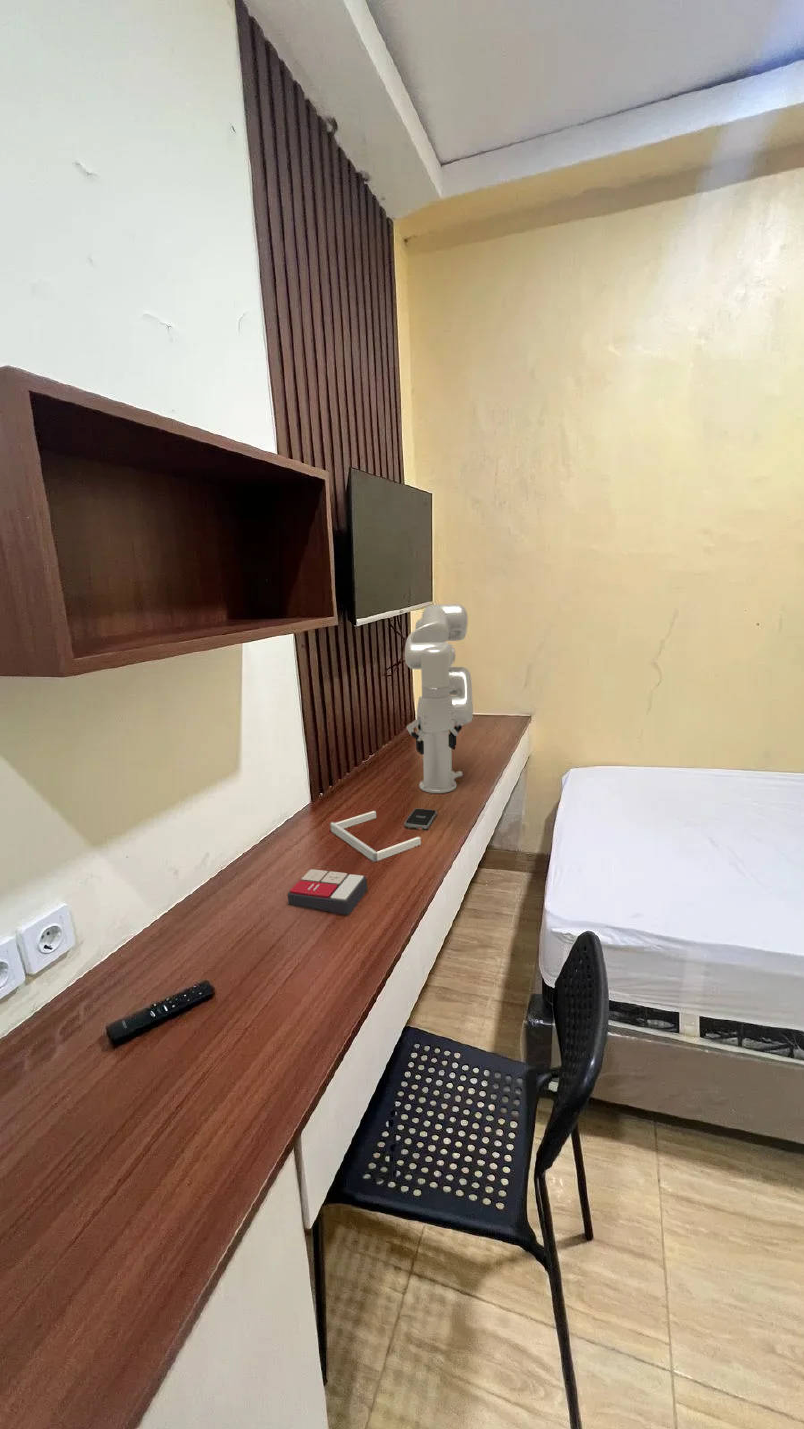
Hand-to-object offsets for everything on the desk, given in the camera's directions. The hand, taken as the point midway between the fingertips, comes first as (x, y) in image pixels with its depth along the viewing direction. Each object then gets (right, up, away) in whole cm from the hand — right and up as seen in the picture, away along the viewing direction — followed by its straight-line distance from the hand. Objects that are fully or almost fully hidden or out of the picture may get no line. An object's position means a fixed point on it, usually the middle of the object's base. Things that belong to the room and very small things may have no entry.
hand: (436, 750), depth 160 cm
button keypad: (-27, -32, -30) cm, 52 cm away
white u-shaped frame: (-18, -24, -3) cm, 30 cm away
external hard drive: (-4, -22, +7) cm, 23 cm away
